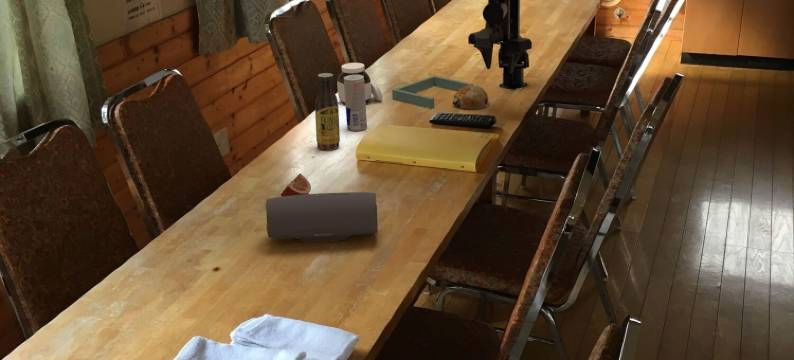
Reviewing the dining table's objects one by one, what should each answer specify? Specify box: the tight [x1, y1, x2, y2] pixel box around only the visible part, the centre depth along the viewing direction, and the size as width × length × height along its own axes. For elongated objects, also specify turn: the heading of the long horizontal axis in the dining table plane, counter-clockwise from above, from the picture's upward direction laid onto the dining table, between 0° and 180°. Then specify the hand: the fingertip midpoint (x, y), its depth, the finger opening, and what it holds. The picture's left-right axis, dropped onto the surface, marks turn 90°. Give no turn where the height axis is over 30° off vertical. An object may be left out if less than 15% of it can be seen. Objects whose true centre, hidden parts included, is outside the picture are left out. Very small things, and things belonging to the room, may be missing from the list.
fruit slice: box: [280, 173, 312, 197], centre depth 218 cm, size 8×7×5 cm
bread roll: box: [452, 84, 489, 111], centre depth 277 cm, size 10×10×8 cm
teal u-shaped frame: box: [391, 75, 474, 110], centre depth 288 cm, size 19×16×3 cm
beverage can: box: [344, 75, 368, 132], centre depth 261 cm, size 6×6×15 cm
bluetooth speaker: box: [265, 191, 379, 243], centre depth 197 cm, size 23×9×10 cm, turn 92°
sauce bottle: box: [314, 72, 341, 151], centre depth 247 cm, size 7×6×20 cm
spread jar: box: [336, 62, 383, 106], centre depth 284 cm, size 12×11×12 cm
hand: (499, 71), depth 266 cm, fingers open, 8 cm apart
